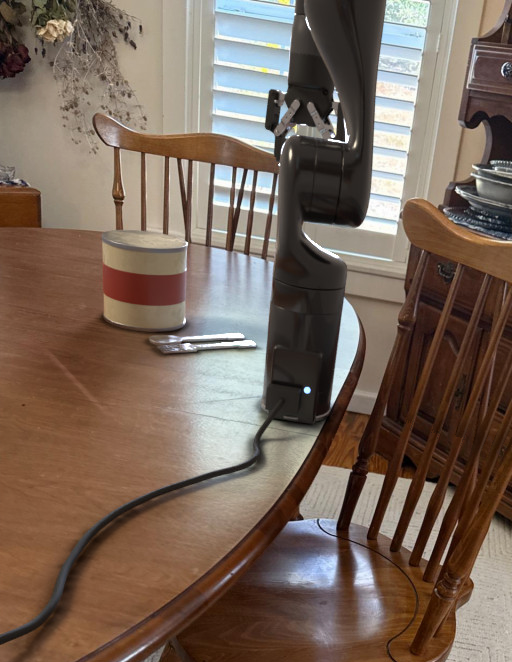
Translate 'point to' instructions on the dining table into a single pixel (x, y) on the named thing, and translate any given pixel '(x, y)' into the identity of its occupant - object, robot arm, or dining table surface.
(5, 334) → the dining table surface
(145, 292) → the coffee tin
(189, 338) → the spoon
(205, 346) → the fork
